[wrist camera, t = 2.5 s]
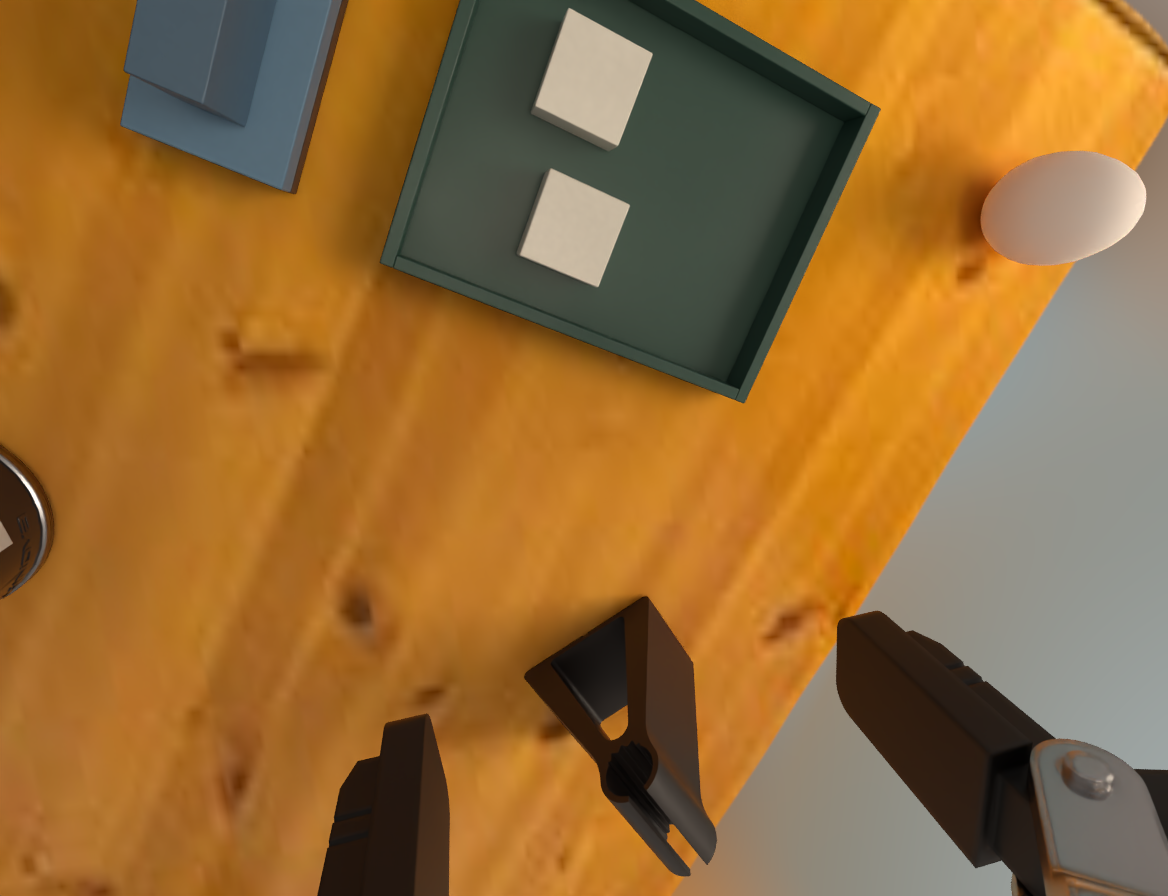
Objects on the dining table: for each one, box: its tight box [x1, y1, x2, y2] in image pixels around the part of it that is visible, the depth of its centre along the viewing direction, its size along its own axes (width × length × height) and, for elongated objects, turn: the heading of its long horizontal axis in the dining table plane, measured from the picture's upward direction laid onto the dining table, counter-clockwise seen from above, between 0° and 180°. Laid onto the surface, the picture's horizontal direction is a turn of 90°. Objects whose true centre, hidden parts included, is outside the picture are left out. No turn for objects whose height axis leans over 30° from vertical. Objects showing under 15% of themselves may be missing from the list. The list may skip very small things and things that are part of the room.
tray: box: [380, 0, 881, 403], centre depth 30 cm, size 19×15×2 cm
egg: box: [980, 151, 1146, 265], centre depth 31 cm, size 5×5×8 cm
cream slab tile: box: [531, 8, 653, 151], centre depth 28 cm, size 4×4×2 cm
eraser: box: [120, 0, 348, 194], centre depth 23 cm, size 6×10×7 cm, turn 158°
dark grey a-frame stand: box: [524, 597, 717, 876], centre depth 34 cm, size 9×6×12 cm, turn 121°
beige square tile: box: [516, 168, 630, 287], centre depth 30 cm, size 4×4×2 cm
